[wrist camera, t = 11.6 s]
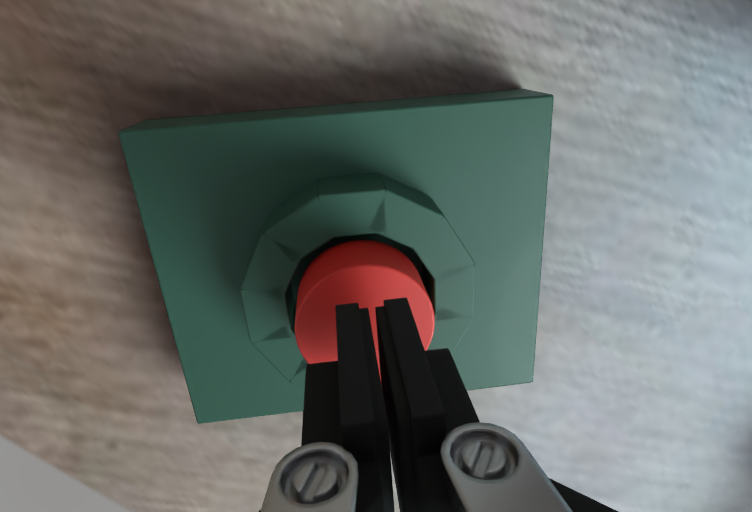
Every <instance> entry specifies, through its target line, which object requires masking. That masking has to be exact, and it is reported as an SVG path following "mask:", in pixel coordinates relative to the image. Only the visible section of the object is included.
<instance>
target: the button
mask: <svg viewBox="0 0 752 512" xmlns="http://www.w3.org/2000/svg"><path fill="white" fill-rule="evenodd" d="M405 297H407V299H408V302H409V305H410V308H411V311H412V314H413V317H414V320H415V323H416V326H417V329H418V332H419V335H420V338H421V341H422V344H423V347H424V350H425V351H426V350H427V349H428V347H429V345H430V342H431V340H432V337H433V333H434V326H435V317H434V310H433V306H432V303H431V301H430V299H429V296H428V294H427V292H426V289H425V287H424V285H423V282H422V280H421V278H420V275H419V273H418V271H417V269H416V267H415V266H414V264H413V263H412V262H411V261H410V259H409V258H408V257H407V256H405V255H404V254H403V253H402V252H400V251H399V250H398V249H396V248H394V247H392V246H390V245H388V244H385V243H382V242H378V241H373V240H353V241H347V242H344V243H340V244H337V245H335V246H333V247H331V248H329V249H327V250H326V251H324V252H322V253H321V254H320V255H319V256H317V257H316V258H315V259H314V260H313V261H312V262H311V263H310V265H309V266H308V267H307V269H306V270H305V272H304V274H303V276H302V278H301V281H300V284H299V288H298V295H297V306H296V316H295V337H296V342H297V345H298V347H299V350H300V352H301V354H302V355H303V357H304V359H305V360H306V361H307V362H308V364H313V363H321V362H330V361H338V354H337V332H336V309H335V305H340V304H349V303H358V304H359V309H360V308H368V310H369V316H370V321H371V327H372V333H373V339H374V345H375V350H376V356H377V362H378V368H379V374H380V363H379V351H378V338H377V325H376V312H375V307H378V306H384V304H383V301H384V300H387V299H396V298H405ZM380 380H381V376H380Z"/></svg>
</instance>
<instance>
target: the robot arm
mask: <svg viewBox="0 0 752 512" xmlns="http://www.w3.org/2000/svg"><path fill="white" fill-rule="evenodd" d="M383 304H384V306H378V307H375V312H376V325H377V338H378V351H379V363H380V374H379V368H378V362H377V356H376V350H375V345H374V339H373V333H372V327H371V321H370V316H369V310H368V308H360V309H359V304H358V303H349V304H340V305H335V309H336V332H337V354H338V361H330V362H321V363H313V364H307V365H306V374H305V392H304V409H303V427H302V445H301V447H298V448H296V449H294V450H293V451H291V452H290V453H288V454H287V455H285V456H284V457H283V458H282V460H281V461H280V462H279V463H278V464H277V465H276V467H275V469H274V471H273V473H272V476H271V479H270V482H269V486H268V489H267V492H266V495H265V499H264V502H263V505H262V509H261V510H260V511H259V512H394V500H393V486H392V473H391V460H390V453H391V459H392V465H393V471H394V477H395V483H396V489H397V495H398V501H399V508H400V512H618V511H616V510H614V509H612V508H609V507H607V506H605V505H603V504H601V503H599V502H597V501H595V500H593V499H591V498H589V497H587V496H585V495H583V494H581V493H578V492H576V491H574V490H572V489H570V488H568V487H566V486H564V485H562V484H560V483H558V482H556V481H554V480H552V479H550V478H548V477H547V475H546V474H545V473H544V471H543V470H542V469H541V467H540V466H539V464H538V463H537V462H536V460H535V459H534V457H533V456H532V455H531V453H530V452H529V451H528V449H527V448H526V446H525V445H524V444H523V442H522V441H521V440H520V439H519V438H518V437H517V436H516V435H515V434H513V433H512V432H510V431H508V430H507V429H505V428H503V427H500V426H497V425H494V424H490V423H480V422H479V419H478V417H477V414H476V412H475V410H474V407H473V405H472V403H471V400H470V398H469V395H468V393H467V391H466V388H465V386H464V383H463V381H462V379H461V376H460V374H459V371H458V369H457V367H456V364H455V362H454V360H453V357H452V355H451V353H450V351H449V349H448V348H443V349H434V350H426V351H425V350H424V347H423V344H422V341H421V338H420V335H419V332H418V329H417V326H416V323H415V320H414V317H413V314H412V311H411V308H410V305H409V302H408V299H407V297H405V298H396V299H387V300H384V301H383ZM380 376H381V380H380Z"/></svg>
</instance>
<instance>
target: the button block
mask: <svg viewBox="0 0 752 512" xmlns="http://www.w3.org/2000/svg"><path fill="white" fill-rule="evenodd" d="M552 111H553V95H551V94H546V93H541V92H536V91H531V90H526V89H517V90H505V91H493V92H481V93H469V94H457V95H444V96H432V97H420V98H408V99H396V100H384V101H371V102H359V103H347V104H335V105H323V106H311V107H298V108H286V109H274V110H262V111H250V112H238V113H226V114H213V115H201V116H189V117H177V118H165V119H153V120H145V121H142V122H140V123H137V124H135V125H132V126H130V127H128V128H125V129H123V130H120V131H119V133H118V134H119V138H120V142H121V145H122V149H123V152H124V156H125V160H126V163H127V167H128V171H129V174H130V178H131V182H132V185H133V189H134V193H135V196H136V200H137V204H138V207H139V211H140V215H141V218H142V222H143V226H144V229H145V233H146V237H147V240H148V244H149V248H150V251H151V255H152V259H153V262H154V266H155V270H156V273H157V277H158V281H159V284H160V288H161V292H162V295H163V299H164V303H165V306H166V310H167V314H168V317H169V321H170V325H171V328H172V332H173V335H174V339H175V343H176V346H177V350H178V354H179V357H180V361H181V365H182V368H183V372H184V376H185V379H186V383H187V387H188V390H189V394H190V398H191V401H192V405H193V409H194V412H195V416H196V420H197V423H199V424H201V423H209V422H217V421H225V420H233V419H241V418H249V417H257V416H265V415H273V414H281V413H289V412H297V411H303V409H304V392H305V374H306V365H307V364H308V362H307V361H306V360H305V359H304V357H303V355H302V354H301V352H300V350H299V347H298V345H297V342H296V337H295V316H296V306H297V295H298V288H299V284H300V281H301V278H302V276H303V274H304V272H305V270H306V269H307V267H308V266H309V265H310V263H311V262H312V261H313V260H314V259H315V258H316V257H317V256H319V255H320V254H321V253H322V252H324V251H326V250H327V249H329V248H331V247H333V246H335V245H337V244H340V243H344V242H347V241H353V240H373V241H378V242H382V243H385V244H388V245H390V246H392V247H394V248H396V249H398V250H399V251H400V252H402V253H403V254H404V255H405V256H407V257H408V258H409V259H410V261H411V262H412V263H413V264H414V266H415V267H416V269H417V271H418V273H419V275H420V278H421V280H422V282H423V285H424V287H425V289H426V292H427V294H428V296H429V299H430V301H431V303H432V306H433V310H434V317H435V326H434V333H433V337H432V340H431V342H430V345H429V347H428V349H427V350H434V349H443V348H448V349H449V351H450V353H451V355H452V357H453V360H454V362H455V364H456V367H457V369H458V371H459V374H460V376H461V379H462V381H463V383H464V386H465V388H466V390H474V389H482V388H491V387H499V386H507V385H515V384H523V383H531V382H533V372H534V358H535V344H536V330H537V317H538V303H539V289H540V276H541V262H542V248H543V234H544V221H545V207H546V193H547V180H548V166H549V152H550V138H551V125H552Z"/></svg>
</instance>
